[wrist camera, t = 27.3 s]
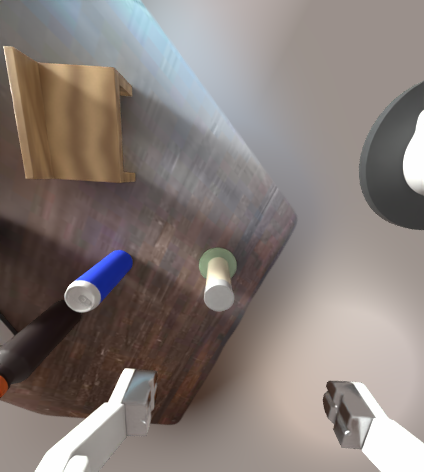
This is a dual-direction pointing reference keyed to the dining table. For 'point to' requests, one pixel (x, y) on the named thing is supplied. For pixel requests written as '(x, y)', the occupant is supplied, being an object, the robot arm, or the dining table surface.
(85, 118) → the wooden stand
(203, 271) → the coaster
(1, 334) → the lantern
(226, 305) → the cylinder
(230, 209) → the dining table surface
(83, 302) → the beverage can
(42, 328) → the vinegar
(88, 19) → the dining table surface
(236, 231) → the dining table surface
